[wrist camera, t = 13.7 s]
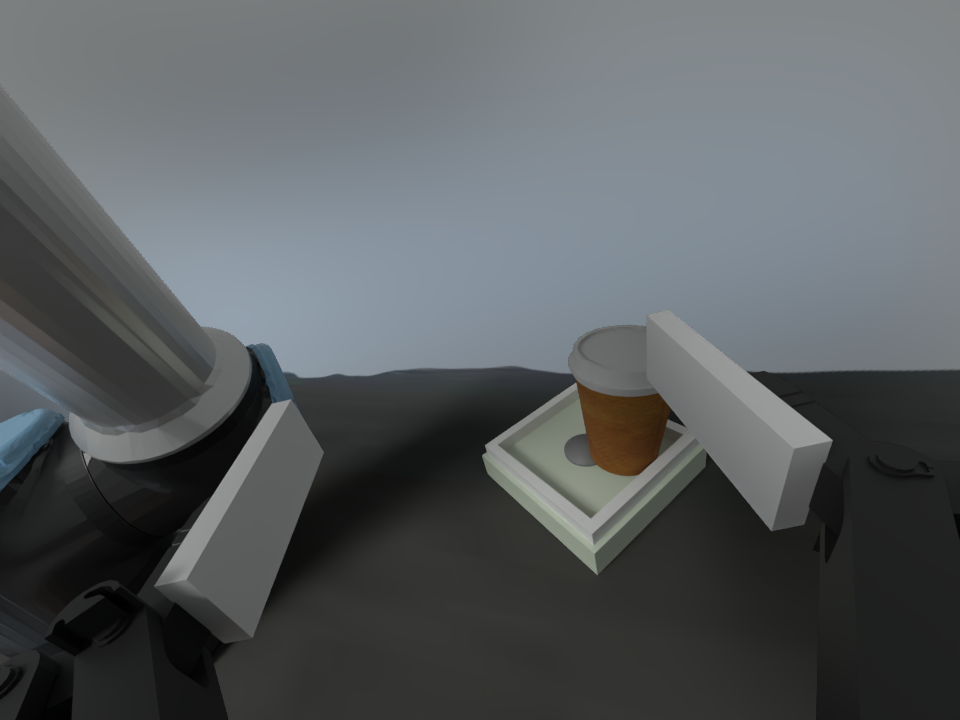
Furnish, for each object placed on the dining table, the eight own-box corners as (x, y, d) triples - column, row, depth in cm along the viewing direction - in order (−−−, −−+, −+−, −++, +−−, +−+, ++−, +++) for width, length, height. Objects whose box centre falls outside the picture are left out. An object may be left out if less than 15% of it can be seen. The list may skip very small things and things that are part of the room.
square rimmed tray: (487, 473, 44) (478, 445, 42) (583, 404, 51) (579, 376, 49) (597, 575, 32) (592, 542, 30) (705, 466, 38) (708, 433, 36)
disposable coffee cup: (563, 430, 42) (556, 332, 37) (649, 416, 42) (656, 316, 37) (589, 497, 34) (585, 384, 28) (696, 481, 34) (714, 363, 28)
